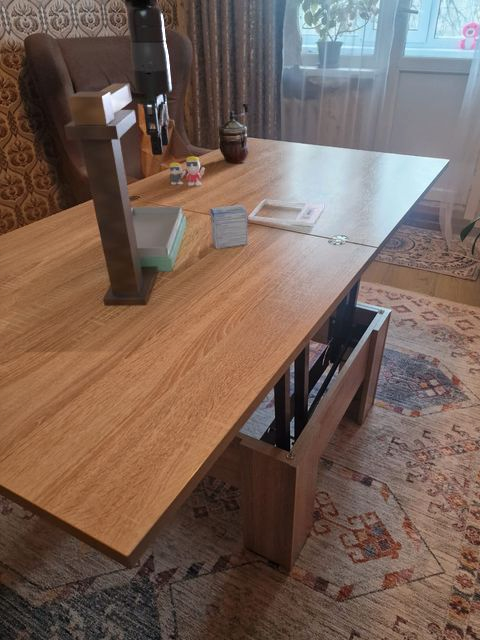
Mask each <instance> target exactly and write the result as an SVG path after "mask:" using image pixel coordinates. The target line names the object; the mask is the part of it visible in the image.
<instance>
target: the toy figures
mask: <svg viewBox="0 0 480 640" xmlns="http://www.w3.org/2000/svg"><path fill="white" fill-rule="evenodd" d="M199 160H200V159H199V157H197V156H188V157H186V159H185V161H186V162H185V169H186V170H183V168H182V166H181V163H180V162H177V161H176V162H171V163H170V164H169V172H170V174H169V176H168V179H169V180H170V181H171V182H170V184H171V185H184V182H183V181H182V180H183V177H185V176H186V177H185V178H186V179H187V180H188V182H187V186H189V187H192V186H196V187H197V186H202V182H200V180H199V179H202V176H203V175H204V173H205V170H206V168H205V167H204V166H203V167H201V163H200V161H199ZM200 168H201V169H200ZM186 171H187V172H188V173H187V174H186Z"/></svg>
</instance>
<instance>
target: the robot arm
mask: <svg viewBox="0 0 480 640" xmlns="http://www.w3.org/2000/svg"><path fill="white" fill-rule="evenodd" d="M123 2H124V4H125V8H126V13H127V15H126V16H127V26H128V33H129V34H128V35H129V40H130V57H131V64H132V71H133V78H134V87H135V92H136V94H138V95H143V96H146V103H143V105H142V108H143V114H144V115H143V116H144V124H145V133H146V135H147V136H148V137H149V138H150V146H151V154H152V155H154V156H161V155H163V153H164V149H163V146H166V147H167V146H169V143H170V142H169V131H168V127H169V123H170V117H169V111H168V103H167V101H168V100H167V95H169V94H171V93H172V91H173V87H172V77H171V67H170V59H169V58H170V57H169V51H168V47H167V40H166V32H165V31H166V29H165V19H164V15H163V12H162V10H161V8H160V6H159V3H158V0H124V1H123Z"/></svg>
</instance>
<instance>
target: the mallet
mask: <svg viewBox="0 0 480 640" xmlns="http://www.w3.org/2000/svg"><path fill="white" fill-rule="evenodd" d="M131 92H132V91H131V84H130V83H128V82H127V83H125V82H124V83H117V82H116V83H112V84H110V85H108V86H107V87H105V88H103V89H101V90H99V91H77V92H76V93H73V94H71V95H70V96H68V99H69V105H70V109H71V114H72V118H73V120H74V124H75V125H107V124H109V123H110V122H111V121H112V120H114V114H115V113H117V112H118V111H119V110H123V108H125V107H126V106H127V105H128V104H130V103H131V102H132V101H133V98H132V93H131Z"/></svg>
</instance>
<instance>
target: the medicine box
mask: <svg viewBox="0 0 480 640" xmlns="http://www.w3.org/2000/svg"><path fill="white" fill-rule="evenodd" d="M209 210H210V224H211V225H210V227H211V241H212V243H213V245H214V247H215V249H216V250H218V249H219V250H220V249H227V248H233V247H239V246H248V245H249V241H248V240H249V238H248V210H247V209H246V208H245V207H244V206H243V205H242V204H235V205H228V206H227V205H226V206H218V207H211V208H209Z"/></svg>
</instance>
